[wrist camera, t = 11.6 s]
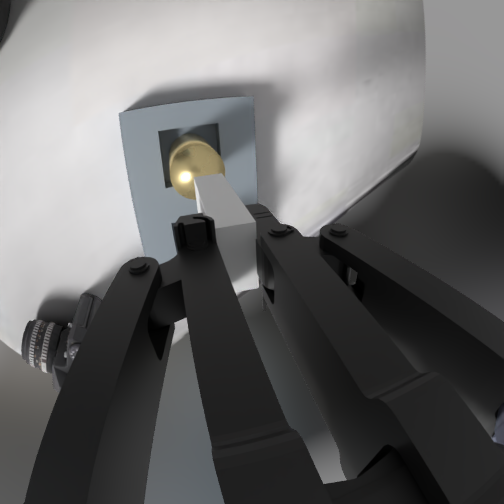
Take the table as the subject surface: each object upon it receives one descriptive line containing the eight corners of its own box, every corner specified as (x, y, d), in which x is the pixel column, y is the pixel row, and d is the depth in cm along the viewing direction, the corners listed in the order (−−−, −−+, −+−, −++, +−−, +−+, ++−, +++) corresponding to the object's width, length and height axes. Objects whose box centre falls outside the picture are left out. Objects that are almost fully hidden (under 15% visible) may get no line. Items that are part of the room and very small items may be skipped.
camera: (32, 275, 29) (5, 330, 21) (110, 298, 34) (102, 358, 26) (34, 350, 34) (21, 402, 26) (98, 367, 39) (95, 421, 31)
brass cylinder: (166, 137, 26) (165, 152, 19) (207, 130, 27) (222, 142, 20) (172, 176, 28) (175, 204, 21) (212, 169, 29) (228, 194, 22)
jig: (123, 111, 24) (107, 116, 18) (245, 96, 27) (271, 96, 20) (152, 270, 33) (152, 315, 27) (252, 252, 36) (274, 292, 29)
